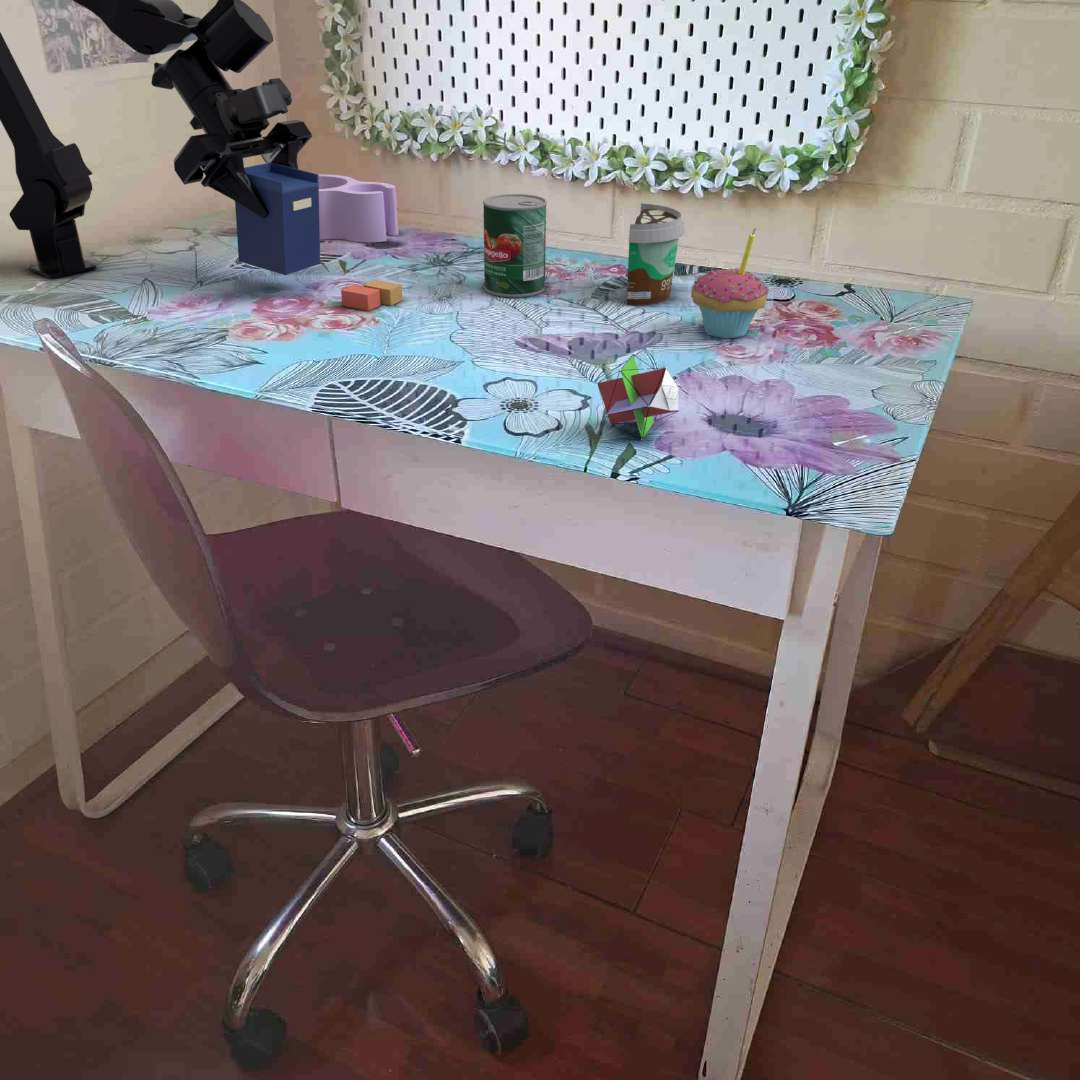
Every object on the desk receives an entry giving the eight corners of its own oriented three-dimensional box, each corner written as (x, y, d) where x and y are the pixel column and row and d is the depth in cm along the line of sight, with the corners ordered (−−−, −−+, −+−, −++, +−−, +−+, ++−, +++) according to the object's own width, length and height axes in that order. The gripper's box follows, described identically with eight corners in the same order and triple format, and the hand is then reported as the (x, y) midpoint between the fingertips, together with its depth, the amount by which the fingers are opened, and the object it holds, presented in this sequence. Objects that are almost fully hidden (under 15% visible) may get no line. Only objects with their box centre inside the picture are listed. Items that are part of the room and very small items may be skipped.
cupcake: (767, 324, 116) (781, 220, 110) (756, 348, 109) (770, 238, 103) (695, 316, 118) (705, 214, 112) (680, 339, 112) (689, 231, 105)
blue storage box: (238, 261, 123) (232, 169, 117) (274, 250, 128) (270, 162, 122) (286, 275, 120) (283, 182, 115) (321, 264, 125) (319, 174, 120)
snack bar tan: (389, 289, 120) (391, 306, 121) (401, 284, 122) (402, 300, 123) (363, 284, 121) (364, 300, 122) (375, 279, 123) (376, 295, 124)
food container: (675, 312, 120) (682, 228, 115) (624, 308, 121) (629, 224, 116) (683, 283, 130) (689, 204, 125) (636, 279, 131) (641, 202, 126)
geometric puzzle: (569, 412, 88) (625, 352, 84) (593, 385, 94) (647, 327, 89) (628, 466, 89) (686, 409, 84) (648, 436, 95) (704, 381, 90)
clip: (411, 228, 153) (408, 182, 150) (371, 247, 143) (367, 198, 140) (301, 216, 159) (296, 171, 156) (255, 233, 150) (249, 186, 146)
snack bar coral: (367, 294, 118) (368, 311, 119) (379, 289, 120) (380, 305, 121) (340, 289, 119) (342, 306, 120) (353, 284, 121) (354, 300, 122)
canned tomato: (474, 293, 125) (472, 204, 120) (498, 276, 132) (497, 191, 126) (533, 300, 123) (533, 210, 117) (554, 283, 129) (555, 196, 124)
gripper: (182, 57, 106) (266, 184, 108) (297, 49, 120) (370, 160, 122) (138, 122, 113) (218, 240, 115) (252, 107, 128) (321, 212, 129)
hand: (285, 211), depth 120 cm, fingers closed on blue storage box, 6 cm apart
